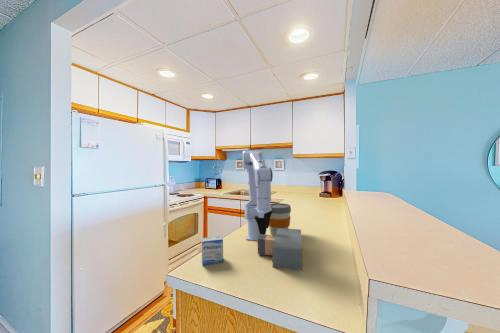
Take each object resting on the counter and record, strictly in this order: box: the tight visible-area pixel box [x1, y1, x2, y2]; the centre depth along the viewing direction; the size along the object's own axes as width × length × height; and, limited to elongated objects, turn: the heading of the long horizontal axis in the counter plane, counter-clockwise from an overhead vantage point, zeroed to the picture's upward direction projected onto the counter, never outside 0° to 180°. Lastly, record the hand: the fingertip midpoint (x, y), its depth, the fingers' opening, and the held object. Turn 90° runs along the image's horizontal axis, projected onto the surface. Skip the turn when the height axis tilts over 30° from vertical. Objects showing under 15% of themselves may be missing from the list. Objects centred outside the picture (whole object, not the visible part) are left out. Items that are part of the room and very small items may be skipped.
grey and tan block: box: [257, 235, 275, 256], centre depth 81 cm, size 4×14×6 cm, turn 76°
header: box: [272, 228, 303, 271], centre depth 80 cm, size 20×10×8 cm, turn 166°
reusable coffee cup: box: [268, 202, 292, 237], centre depth 104 cm, size 13×13×15 cm
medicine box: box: [200, 235, 224, 266], centre depth 76 cm, size 8×4×9 cm, turn 105°
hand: (264, 230), depth 82 cm, fingers open, 7 cm apart
